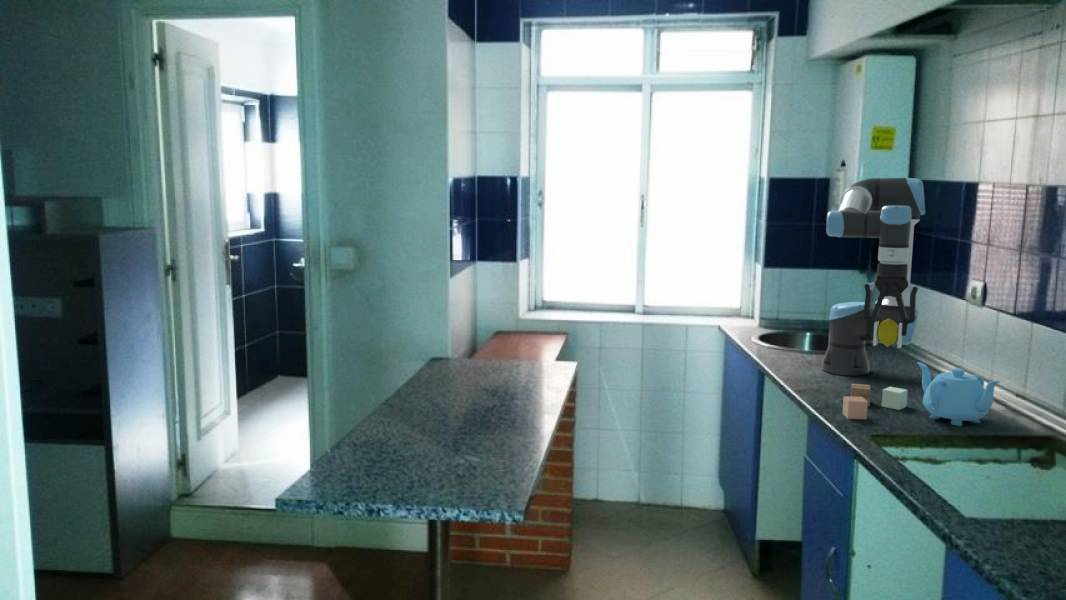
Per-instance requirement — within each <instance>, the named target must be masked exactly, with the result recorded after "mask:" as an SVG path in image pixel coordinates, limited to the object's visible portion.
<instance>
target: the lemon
mask: <svg viewBox="0 0 1066 600" xmlns="http://www.w3.org/2000/svg"><path fill="white" fill-rule="evenodd" d="M898 332H899V327H898V325H897V323H896V322H894V321H893V320H891V319H887V320H884V321H882V322H881V323H880V325H879V327H878V330H877V336H878V339H879V341H880V342H881V343H880V344H883V345H884V346H885V348H886V347H887V348H888V347H890V346H891V345H895V344H894V343H895V342H896V341H897V340H898Z"/></svg>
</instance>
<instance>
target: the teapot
mask: <svg viewBox="0 0 1066 600" xmlns="http://www.w3.org/2000/svg"><path fill="white" fill-rule="evenodd" d="M916 363H917V365H918V366H919V367H920V369H921V372H922V374H921V375H922V379H921V387H922V390H923V393H924V394H923V398H922V404H923V407H924V409H926V410H927V411H928V412H929V414H930V415H929V416H928V418H929V417H930V418H929V419H931V418H934V419H933V420H940V419H941V418H942V419H948V420H950V425H951V424H952V425H951V426H953V425H957V426H956V427H963V426H962V425H963V421H965V422H966V421H968V422H970V423H972V422H973V424H981V419H982V418H984V417H985V416H986V415H987V414H988V413H989V412H990V409H991V407H992V406H993V403H994V398H995V397H994V396H995V395H994V393H995V388H996V386H997V384H999V383H1000V382H1001V380H993V381H992V380H991V381H989V382H987V384H986V386H985V387H984V385H985V381H984V378H983V377H982V376H980V375H978V374H967V373H965V372H966V370H965V369H963V368H958V367H957V368H955V367H954V368H951V372H940V373H939V374H937V375H936V376H935V377H934V379H933V380H932V377H931V371H930V369H929V367H928V366H927V365H926V364H925V363H923V362H919V361H917V362H916Z"/></svg>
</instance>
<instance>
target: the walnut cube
mask: <svg viewBox="0 0 1066 600" xmlns="http://www.w3.org/2000/svg"><path fill="white" fill-rule="evenodd" d="M850 389H851V390H850V397H863V398H864V399H865V400H866V401H867V402H868V406H867V407H870V403H871V385H870V384H860V383H851V387H850Z"/></svg>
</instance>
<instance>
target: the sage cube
mask: <svg viewBox="0 0 1066 600" xmlns="http://www.w3.org/2000/svg"><path fill="white" fill-rule="evenodd" d="M908 394H909V393H908V389H905V388H900V387H894V386H888V387H886V388H883V389H882V395H881V397H882V398H881V407H884V408H888V409H892V410H898V411H900V410H902V409H904V408H906V407H907V406H908V405H907V404H908V403H907V402H908Z"/></svg>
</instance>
